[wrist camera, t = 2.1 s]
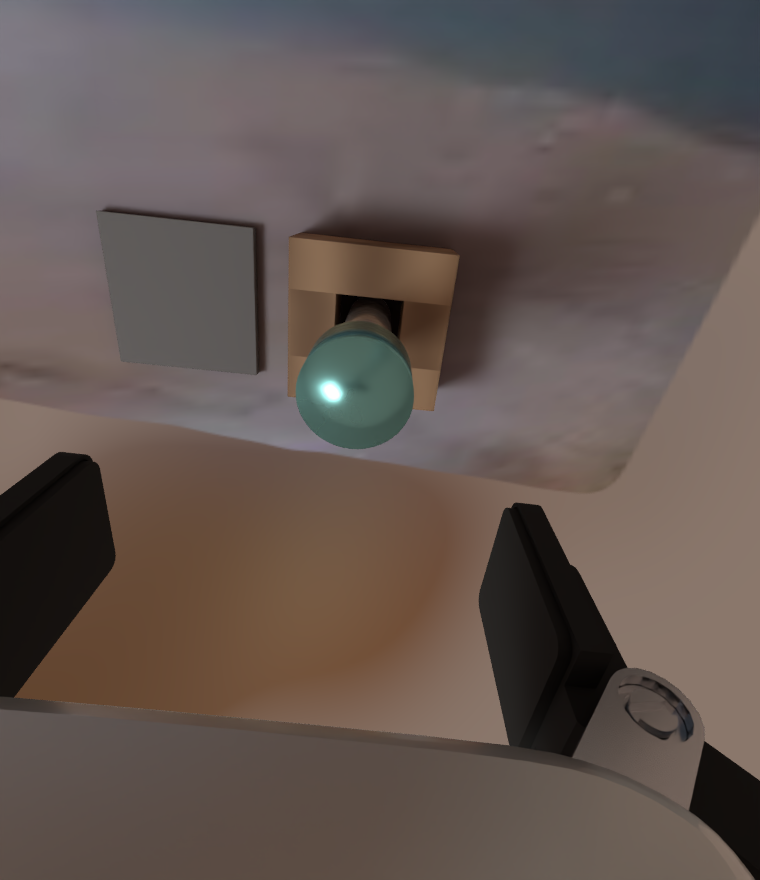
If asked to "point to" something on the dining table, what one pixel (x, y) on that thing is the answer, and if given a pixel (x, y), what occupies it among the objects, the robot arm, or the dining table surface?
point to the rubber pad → (182, 291)
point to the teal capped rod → (357, 380)
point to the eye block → (378, 276)
